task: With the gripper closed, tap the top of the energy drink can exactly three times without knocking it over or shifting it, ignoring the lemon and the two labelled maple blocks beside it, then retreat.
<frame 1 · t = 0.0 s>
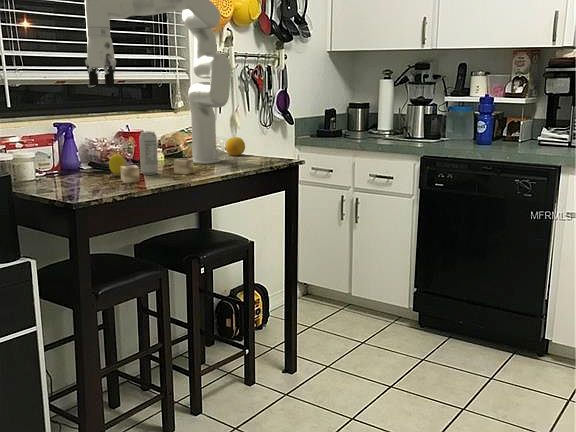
hand: (101, 85, 213), 31 cm above the table, tool pointing down, fingers open, 9 cm apart
fruit: (235, 156, 271), on the table
energy drink can: (149, 174, 226), on the table
maple block a: (183, 173, 228), on the table
lemon: (117, 176, 222), on the table
maple block b: (130, 181, 212), on the table
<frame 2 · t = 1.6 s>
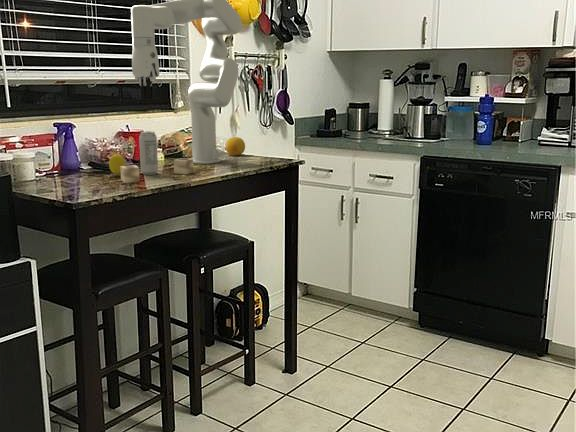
hand: (146, 97, 219), 27 cm above the table, tool pointing down, fingers closed
nothing on the table moved.
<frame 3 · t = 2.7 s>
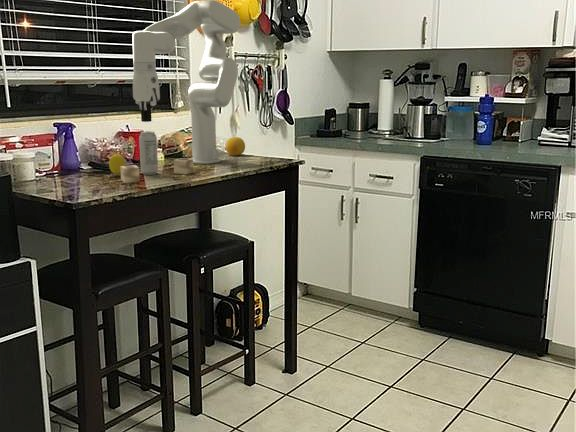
hand: (146, 121, 221), 19 cm above the table, tool pointing down, fingers closed
nothing on the table moved.
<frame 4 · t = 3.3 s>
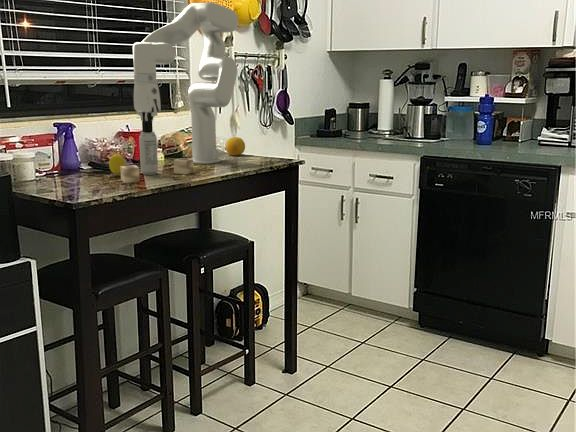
hand: (147, 131, 222), 15 cm above the table, tool pointing down, fingers closed
energy drink can: (149, 174, 226), on the table, touching gripper
everything else where it was.
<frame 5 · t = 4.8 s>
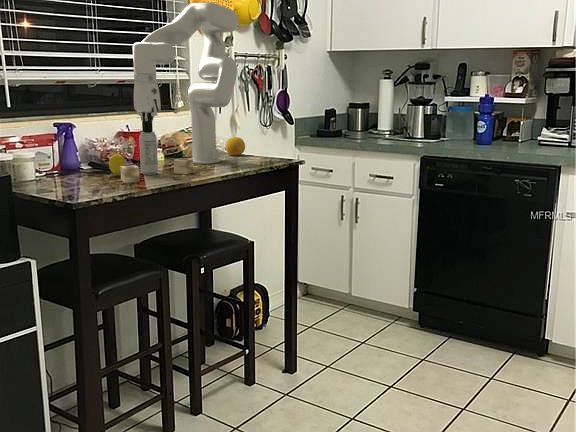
hand: (147, 131, 222), 15 cm above the table, tool pointing down, fingers closed
nothing on the table moved.
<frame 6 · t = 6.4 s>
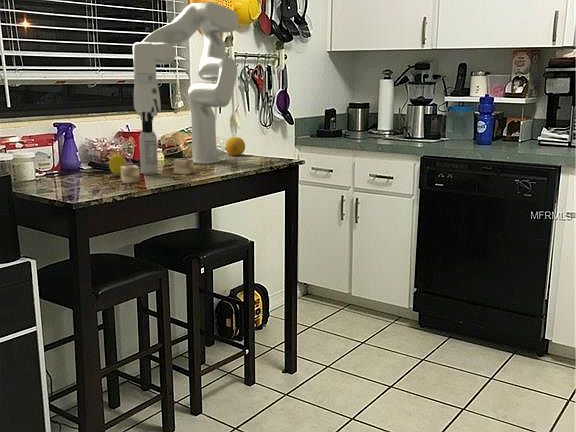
hand: (147, 131, 222), 15 cm above the table, tool pointing down, fingers closed
nothing on the table moved.
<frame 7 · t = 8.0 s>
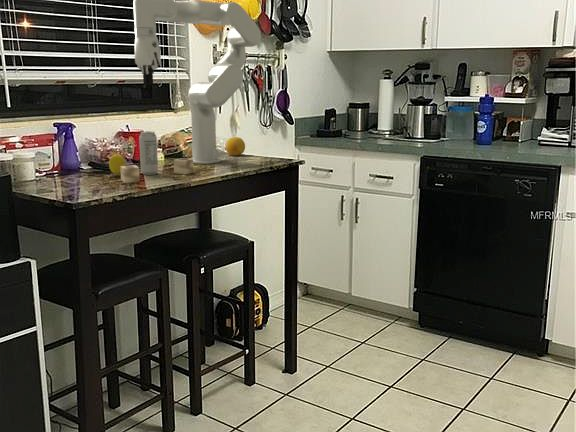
hand: (148, 85, 231), 31 cm above the table, tool pointing down, fingers closed
energy drink can: (149, 174, 226), on the table
everything else where it was.
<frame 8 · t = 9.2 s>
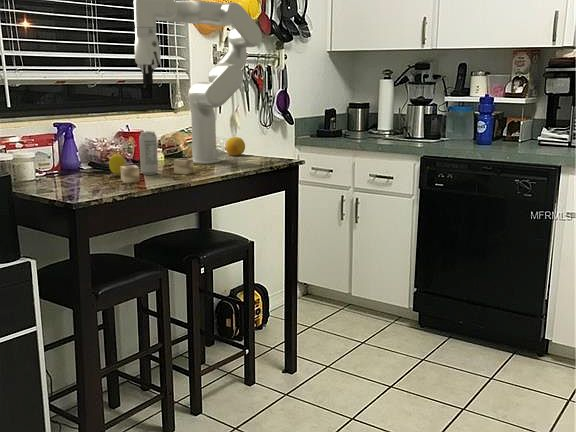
hand: (148, 84, 232), 31 cm above the table, tool pointing down, fingers closed
nothing on the table moved.
at the end: energy drink can moved 0.2 cm from its start; energy drink can tilted 0°; energy drink can touching table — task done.
